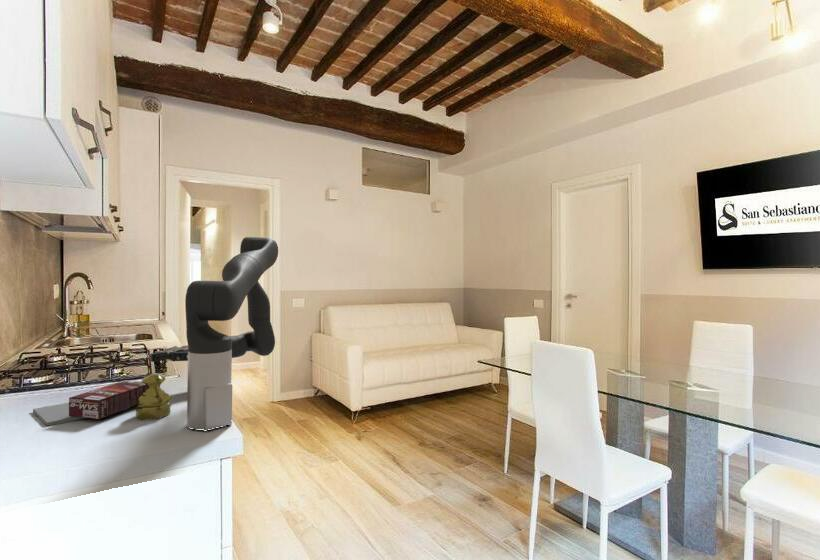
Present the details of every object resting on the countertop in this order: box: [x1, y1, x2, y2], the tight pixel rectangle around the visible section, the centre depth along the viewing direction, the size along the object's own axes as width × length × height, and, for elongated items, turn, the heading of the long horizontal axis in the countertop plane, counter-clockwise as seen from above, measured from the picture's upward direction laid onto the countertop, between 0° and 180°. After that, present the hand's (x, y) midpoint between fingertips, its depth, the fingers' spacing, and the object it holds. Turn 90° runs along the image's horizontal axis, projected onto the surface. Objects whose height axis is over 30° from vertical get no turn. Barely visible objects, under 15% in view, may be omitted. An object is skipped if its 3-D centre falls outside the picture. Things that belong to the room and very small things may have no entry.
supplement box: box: [68, 380, 147, 420], centre depth 106 cm, size 9×5×16 cm
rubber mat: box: [32, 402, 129, 427], centre depth 106 cm, size 14×16×1 cm
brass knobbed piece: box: [135, 373, 172, 420], centre depth 104 cm, size 7×7×10 cm
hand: (150, 357), depth 118 cm, fingers closed
